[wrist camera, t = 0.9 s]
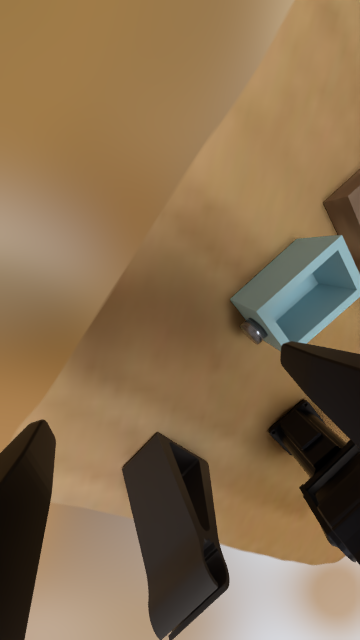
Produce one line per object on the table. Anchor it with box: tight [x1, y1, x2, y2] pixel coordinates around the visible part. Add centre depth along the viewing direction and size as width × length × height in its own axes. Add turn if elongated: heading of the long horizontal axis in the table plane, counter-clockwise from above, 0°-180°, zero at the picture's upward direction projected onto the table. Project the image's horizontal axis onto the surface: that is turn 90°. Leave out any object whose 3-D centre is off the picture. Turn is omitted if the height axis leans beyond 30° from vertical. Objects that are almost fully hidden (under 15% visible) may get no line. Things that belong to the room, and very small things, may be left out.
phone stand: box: [122, 433, 229, 640], centre depth 21 cm, size 9×6×12 cm, turn 45°
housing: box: [230, 235, 360, 351], centre depth 21 cm, size 6×10×5 cm, turn 130°
